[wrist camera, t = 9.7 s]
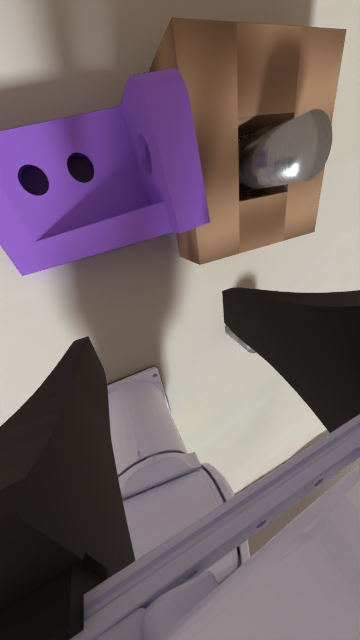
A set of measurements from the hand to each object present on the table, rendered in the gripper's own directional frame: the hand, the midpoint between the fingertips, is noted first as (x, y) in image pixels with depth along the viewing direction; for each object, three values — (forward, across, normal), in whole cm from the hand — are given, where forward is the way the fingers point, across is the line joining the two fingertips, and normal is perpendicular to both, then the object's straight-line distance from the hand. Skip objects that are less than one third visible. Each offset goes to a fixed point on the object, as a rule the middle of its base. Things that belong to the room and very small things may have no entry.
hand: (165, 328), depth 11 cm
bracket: (+10, +2, -7) cm, 12 cm away
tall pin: (+9, -11, -7) cm, 16 cm away
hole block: (+9, -11, -7) cm, 16 cm away
